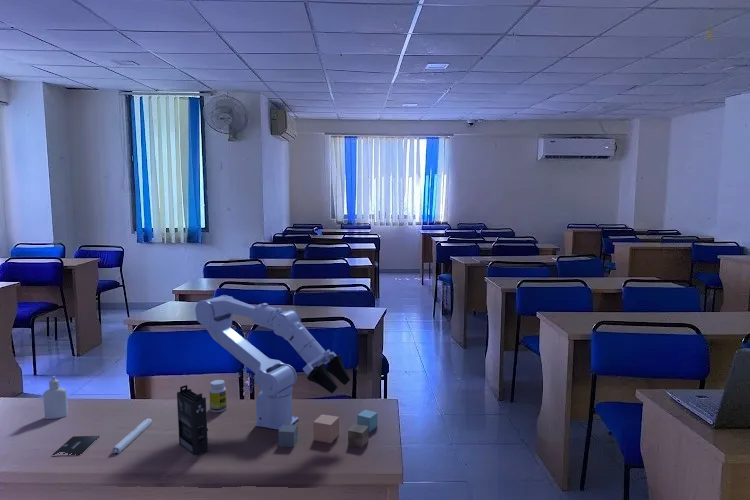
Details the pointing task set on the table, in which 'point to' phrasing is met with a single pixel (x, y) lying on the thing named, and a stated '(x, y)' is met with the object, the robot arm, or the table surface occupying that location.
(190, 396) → the geiger counter
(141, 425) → the marker
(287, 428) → the charcoal block
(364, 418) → the dull teal block
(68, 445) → the solid state drive
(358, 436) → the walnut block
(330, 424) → the terracotta block
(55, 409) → the eye dropper bottle
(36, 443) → the table surface
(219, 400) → the supplement bottle
